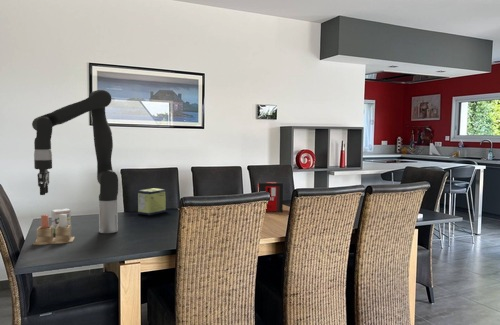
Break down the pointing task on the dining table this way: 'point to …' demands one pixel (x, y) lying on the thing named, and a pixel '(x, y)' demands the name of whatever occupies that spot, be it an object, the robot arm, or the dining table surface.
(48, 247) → the dining table surface
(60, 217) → the grey plug
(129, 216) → the dining table surface
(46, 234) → the socket block
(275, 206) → the cleaning product box
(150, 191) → the protein box
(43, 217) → the terracotta plug
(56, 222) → the ink box
